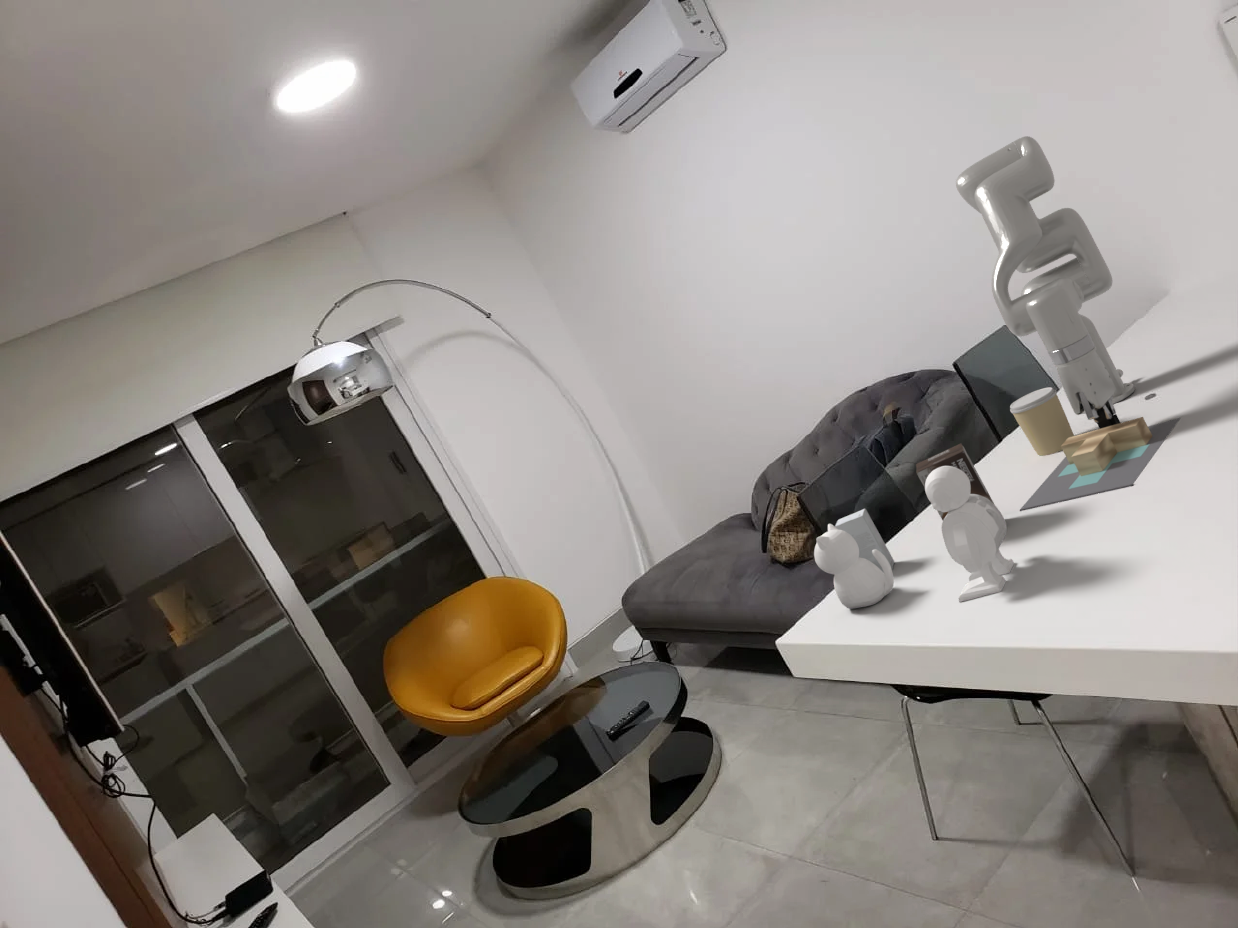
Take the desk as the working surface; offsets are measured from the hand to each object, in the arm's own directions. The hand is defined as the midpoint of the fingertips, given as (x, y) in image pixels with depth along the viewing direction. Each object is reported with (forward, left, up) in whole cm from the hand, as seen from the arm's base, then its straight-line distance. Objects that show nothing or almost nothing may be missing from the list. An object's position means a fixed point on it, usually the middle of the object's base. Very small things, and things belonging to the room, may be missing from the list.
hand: (1115, 436), depth 167 cm
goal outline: (+13, 0, -1) cm, 13 cm away
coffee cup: (-7, -15, -2) cm, 17 cm away
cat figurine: (+51, -27, -2) cm, 58 cm away
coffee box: (+31, -15, -2) cm, 34 cm away
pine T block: (+8, 0, -1) cm, 8 cm away
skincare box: (+39, -33, -2) cm, 51 cm away
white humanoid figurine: (+51, -3, -2) cm, 51 cm away
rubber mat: (+10, 0, -1) cm, 10 cm away
